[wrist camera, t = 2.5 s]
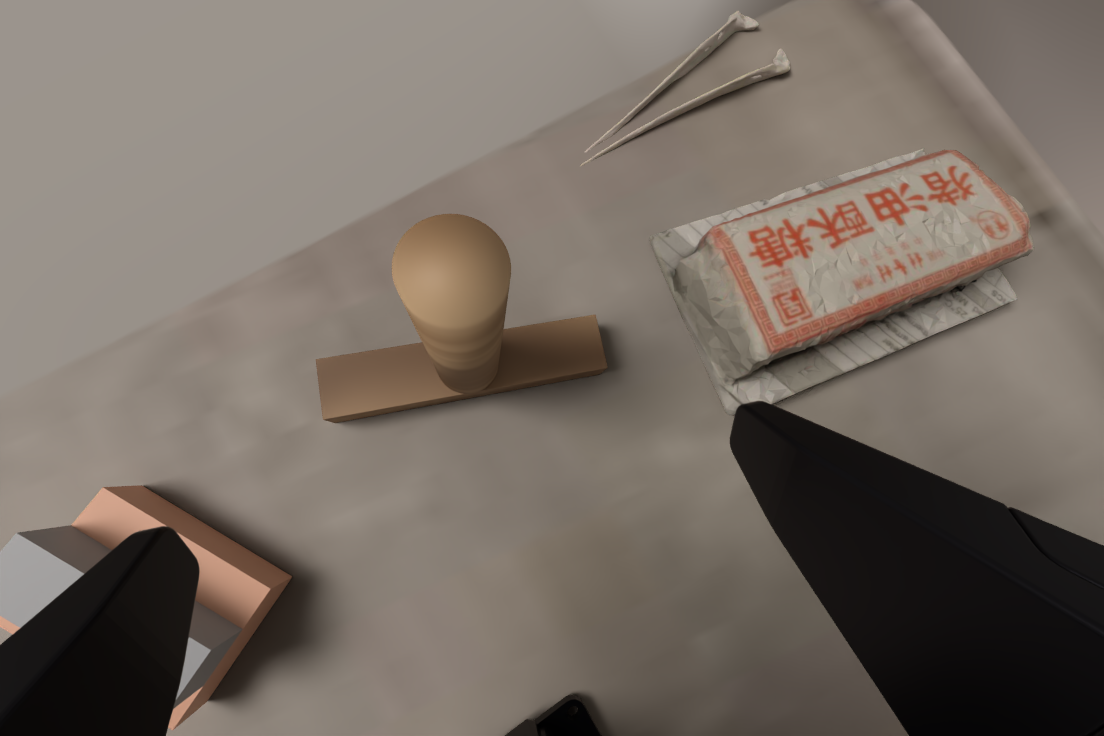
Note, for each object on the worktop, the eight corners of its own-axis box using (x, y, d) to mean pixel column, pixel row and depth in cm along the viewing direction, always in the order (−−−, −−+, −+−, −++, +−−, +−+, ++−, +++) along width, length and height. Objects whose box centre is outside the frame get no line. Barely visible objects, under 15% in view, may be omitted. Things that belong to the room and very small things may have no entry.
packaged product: (782, 411, 19) (678, 193, 20) (722, 423, 23) (642, 245, 25) (1096, 275, 22) (989, 98, 24) (990, 309, 27) (906, 160, 28)
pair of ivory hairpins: (736, 21, 29) (753, -10, 27) (786, 78, 29) (807, 52, 27) (509, 173, 26) (509, 151, 24) (562, 239, 26) (567, 222, 24)
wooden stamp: (599, 375, 23) (713, 283, 11) (335, 424, 21) (154, 370, 9) (587, 323, 23) (685, 186, 12) (328, 366, 21) (147, 248, 10)
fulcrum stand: (292, 576, 19) (243, 604, 15) (206, 701, 18) (129, 766, 14) (141, 485, 19) (53, 489, 15) (45, 604, 18) (-78, 642, 14)
